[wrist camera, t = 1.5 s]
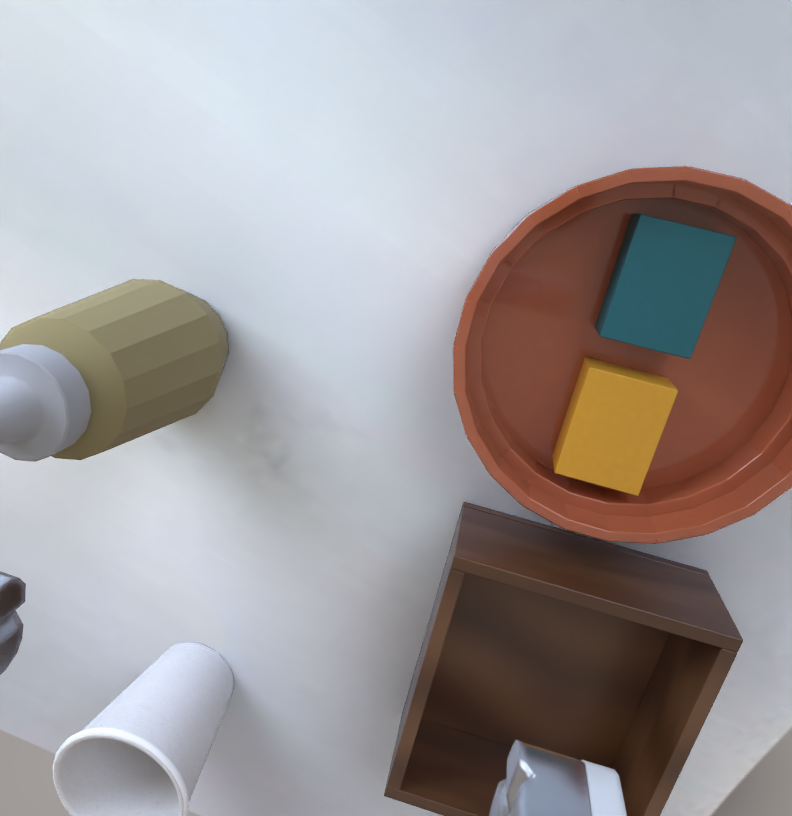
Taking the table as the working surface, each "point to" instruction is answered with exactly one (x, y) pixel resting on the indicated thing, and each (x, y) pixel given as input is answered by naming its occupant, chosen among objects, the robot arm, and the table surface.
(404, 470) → the table surface
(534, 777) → the robot arm
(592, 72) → the table surface
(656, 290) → the teal sponge
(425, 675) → the holder
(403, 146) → the table surface
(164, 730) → the dixie cup
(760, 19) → the table surface
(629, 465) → the yellow rectangular block
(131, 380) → the squeeze bottle
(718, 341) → the bowl
